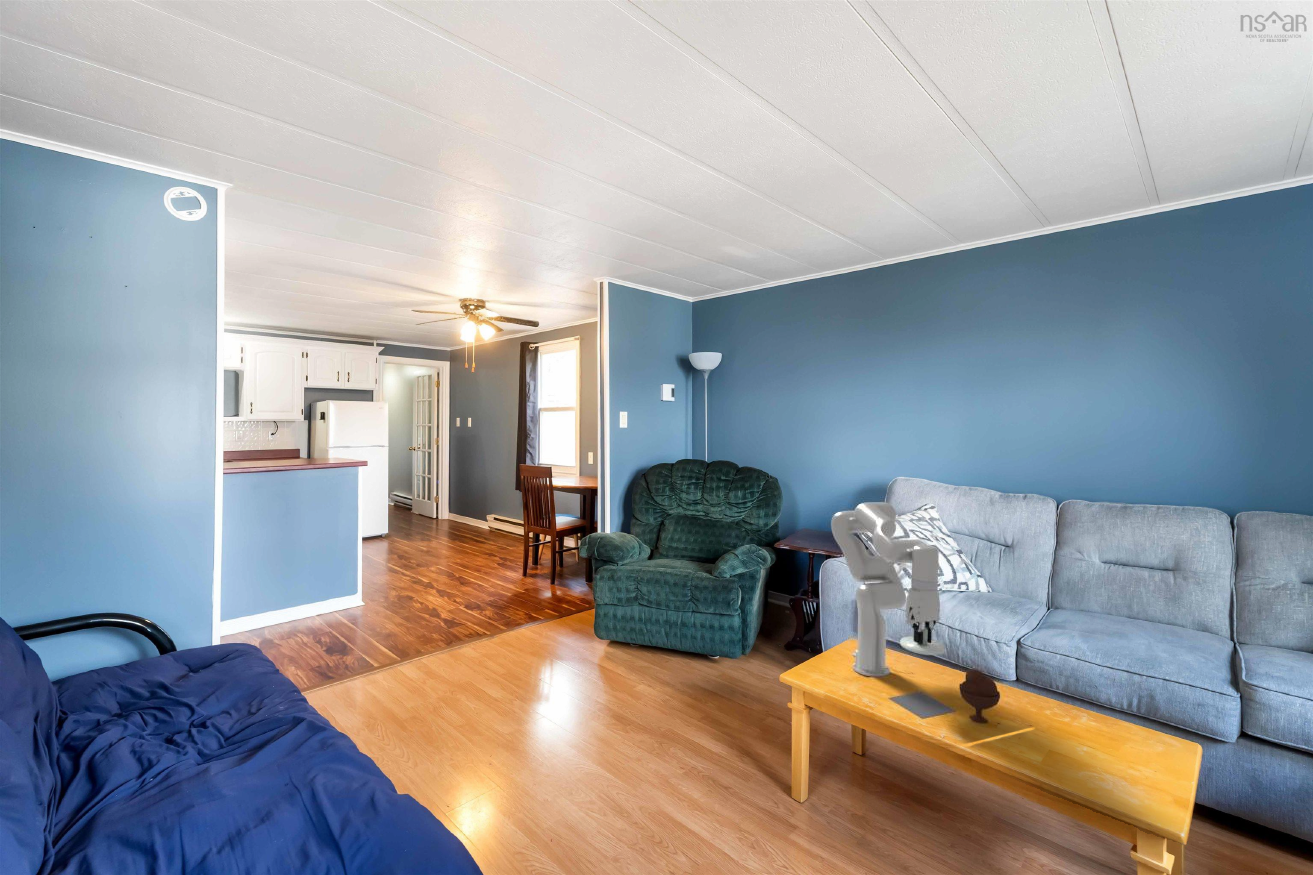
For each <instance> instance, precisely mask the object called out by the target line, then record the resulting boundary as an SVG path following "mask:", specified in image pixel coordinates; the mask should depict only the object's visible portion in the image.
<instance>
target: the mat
mask: <svg viewBox="0 0 1313 875" xmlns="http://www.w3.org/2000/svg"><path fill="white" fill-rule="evenodd" d="M887 699H889V700H890V701H892V702H893V703H895V704H897V705H899V706H900V707H902V708H903V709H905V710H907V711H908V712H910V713H912V714H914V715H915V716H917V717H918V718H920V719H922V720H923V719H924V720H925V719H928V718H932V717H938V716H941V715H946V714H951V713H955V712H957V710H956V709H954V708H953V707H951V706H949V705H947V704H945V703H943V702H941V701H939V700H938V699H935V698H934V697H932V696H931V695H928V694H926V693H925V692H923V691H917V692H911V693H907V694H906V693H905V694H901V695H896V696H891V697H888V698H887Z"/></svg>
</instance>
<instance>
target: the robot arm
mask: <svg viewBox="0 0 1313 875" xmlns="http://www.w3.org/2000/svg"><path fill="white" fill-rule="evenodd" d="M896 518H897V512H896V509H895V508H894V507H893V505H892V504H890V503H889V502H884V501H880V502H879V501H878V502H877V501H876V502H872V501H871V502H862V503H860V504H858V505H857V506H856V507H855V509H854V510H845V511H844V510H843V511H839V512H836V513H834V514H833V516H832V518H831V523H830V528H831V533H832V535H833V538H834V540H835V542H836V543H837V545H838V546H839V548H840V550H841V551H842V555H843V557H844V560H845V562H846V564H847V565H846V566H847V567H848V569H849V572H850V574H851V576H852V579H853V580H854V581H855V582H857V583H863V584H861V585H859V586H858V587H857V589H856V592H855V599H856V600H855V601H856V605H857V616H858V617H857V623H858V624H857V649H856V650H855V651H854V652H853V653H852V654H851V656H852V658H855V661H854V662H853V664H852V669H853V671H855V672H856V673H857V674H860V675H863V676H866V677H871V678H875V677H886V676H888V675H890V674H891V669H890V667H889V666H887V665H886V658H887V657H886V651H887V649H886V646H887V645H886V644H887V622H886V619H885V618H884V616H883V614H882V613H881V611H884V610H885V611H886V610H887V611H888V610H898V609H901V608H903V607H905V618H906V620H905V623H906V624H907V625H909V626H910V627H911V629H912V630H913V636H914V642H916V643H918V644H920V645H922V644H923V632H922V627H925V628H927V629H928V643H931V640H933V639H932V638H933V637H932V633H933V631H934V627H935V625H936V624H937V623H938V622H940V620H941V618H940V614H941V606H940V605H941V604H940V603H941V602H940V593H939V589H938V584H939V555H940V552H939V548H937V547H936V546H934V545H930V544H927V543H925V542H924V541H922V540H921V539H920V540H919V539H896V540H893V539H891V538H892V537H893V536H894V535H895V533H896V530H897V525H896V523H895V521H896ZM855 533H856V534H857V533H870V534H871V535H872V544H873V548H874V550H875V552H876V553H877V554H878V555H870V554H869V553H868V550H867V547H866V546H865V544H864V543H863V541H862V540H861V539H859V537H857V536H856V535H855ZM897 564H911V579H910V580H911V585H910V587H909V588H908V592H907V595H906V592H905V589H904V586H903V584H902V581H901V579H900V577H899V575H898V572H897V570H896V568H895V566H894V565H897Z"/></svg>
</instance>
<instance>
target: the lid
mask: <svg viewBox="0 0 1313 875" xmlns="http://www.w3.org/2000/svg"><path fill="white" fill-rule="evenodd" d="M922 632H923V644H922V645H920V644H918V643H916V642H914V635H913V636H911V635H910V636H904V637H902V638H901V639H900V640H899V644H900V646H901V647H902V648H903V649H905V650H907V651H909V652H913V653H915V654H920V655H923V656H924V655H925V656H939V655H943V654H945V653H946V646H945V645H944V644H943V643H941V642H939V641H938V640H935V639H932V640H931V643H928V629H927V628H925V627H924V626H922Z"/></svg>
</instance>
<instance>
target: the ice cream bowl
mask: <svg viewBox="0 0 1313 875" xmlns="http://www.w3.org/2000/svg"><path fill="white" fill-rule="evenodd" d="M964 678H965V680H964V681H963V682H962V683H959V685H958V686H959V687H958V688H959V693H960V696H961V698H962V699H963V700H964V701H965V702H966V704H968V705H970V706H971V707H972V708H974V709H975V713H974V714H972V715H969V717H968V719H969V720H970V721H972V722H974V723H976V724H977V723H978V724H983V725H985V724H988V723H989V719H987V718H986V717H984V716H983V711H984V710H987V709H988V710H989V709H992V708H994V707H995V706H997V705H998V703H999V702H1000V698H1001V693H1000V691H999V690H998V687H997V684H996V682H995V681H994V680H993V679H992V678H990V677H988V676H986V675H985V674H984V673H983V671H981V670H979V669H977V668H976V669H975V668H973V669H970V670H968V671H966V673H965V677H964Z"/></svg>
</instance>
